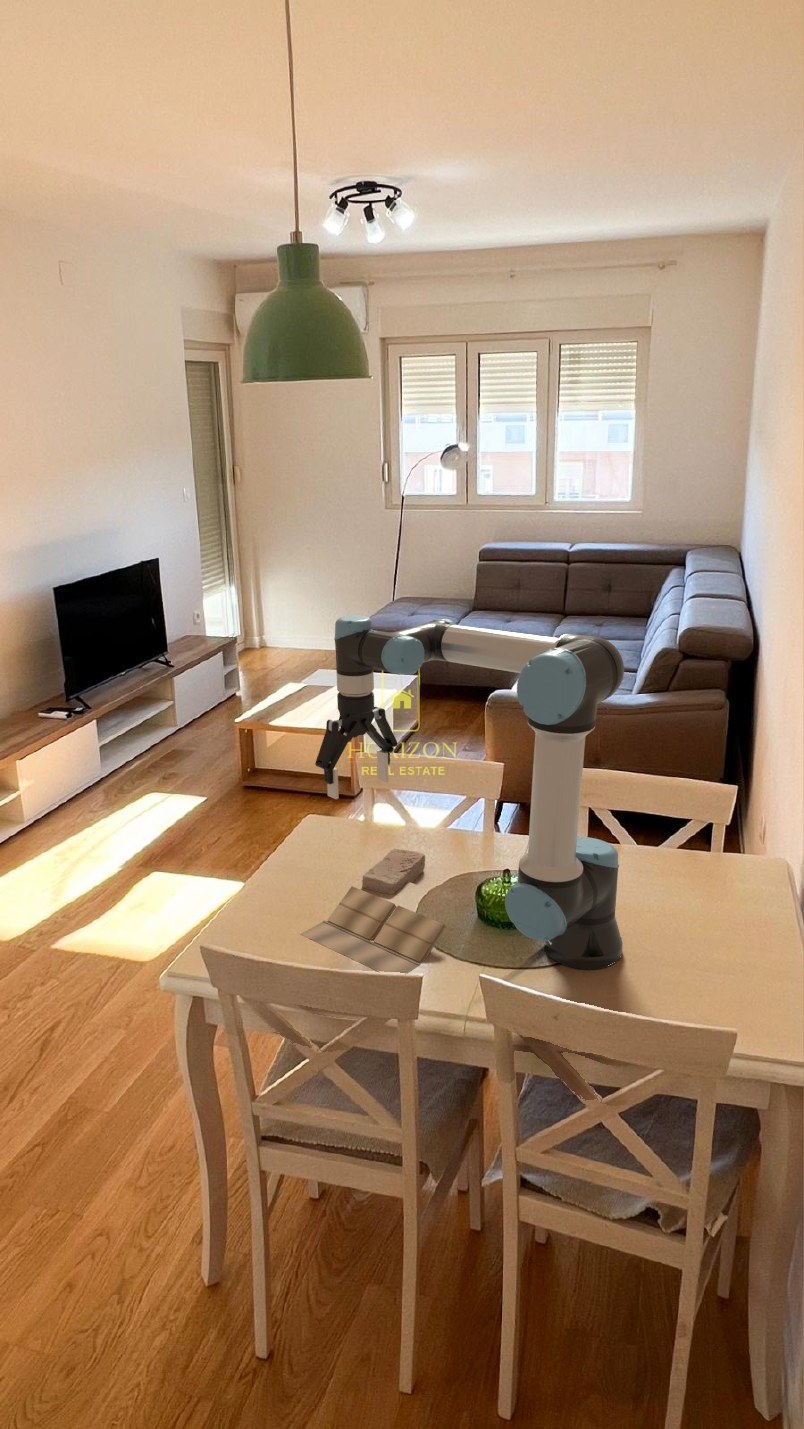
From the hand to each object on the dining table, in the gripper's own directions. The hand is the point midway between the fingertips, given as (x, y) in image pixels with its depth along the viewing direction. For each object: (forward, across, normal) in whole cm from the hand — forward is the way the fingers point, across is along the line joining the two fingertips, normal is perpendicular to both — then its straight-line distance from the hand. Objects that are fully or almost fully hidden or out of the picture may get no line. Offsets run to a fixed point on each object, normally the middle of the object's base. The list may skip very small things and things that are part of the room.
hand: (358, 788), depth 209 cm
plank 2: (+24, +5, +22) cm, 33 cm away
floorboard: (+27, +14, +16) cm, 34 cm away
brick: (+27, -12, -2) cm, 30 cm away
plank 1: (+24, +7, +9) cm, 26 cm away
